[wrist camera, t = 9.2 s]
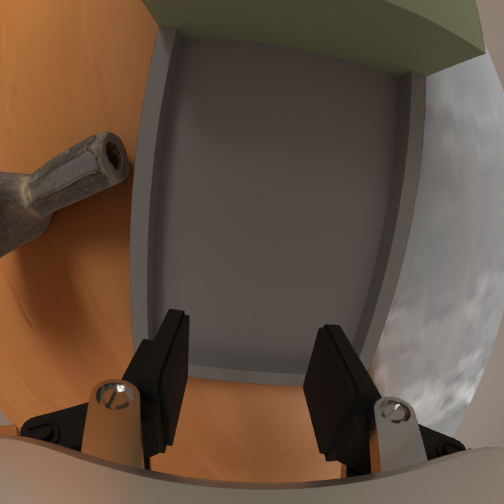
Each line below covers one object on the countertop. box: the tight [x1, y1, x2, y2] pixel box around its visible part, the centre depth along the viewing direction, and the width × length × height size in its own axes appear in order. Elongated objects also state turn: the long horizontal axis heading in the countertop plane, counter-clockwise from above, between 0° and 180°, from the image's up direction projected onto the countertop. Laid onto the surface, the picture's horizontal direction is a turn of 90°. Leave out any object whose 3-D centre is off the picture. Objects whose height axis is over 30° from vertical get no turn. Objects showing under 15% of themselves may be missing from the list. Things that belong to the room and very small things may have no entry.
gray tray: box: [130, 0, 486, 386], centre depth 12 cm, size 28×15×8 cm, turn 173°
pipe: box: [0, 132, 130, 258], centre depth 12 cm, size 6×13×8 cm, turn 106°
